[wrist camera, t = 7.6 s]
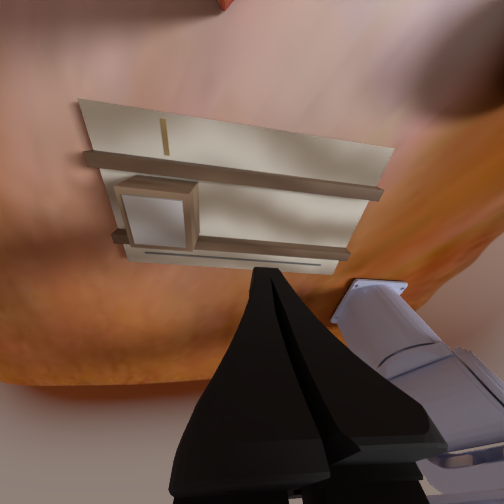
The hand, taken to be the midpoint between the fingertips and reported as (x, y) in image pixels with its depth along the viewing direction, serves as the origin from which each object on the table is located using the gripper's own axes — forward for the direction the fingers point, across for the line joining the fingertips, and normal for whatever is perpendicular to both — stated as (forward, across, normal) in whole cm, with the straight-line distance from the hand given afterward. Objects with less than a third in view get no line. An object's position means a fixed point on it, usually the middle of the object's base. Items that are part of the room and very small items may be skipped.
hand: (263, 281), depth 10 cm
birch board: (+10, +1, 0) cm, 10 cm away
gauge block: (+9, +8, 0) cm, 12 cm away
